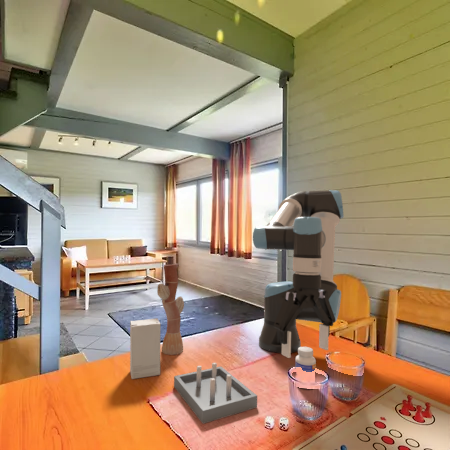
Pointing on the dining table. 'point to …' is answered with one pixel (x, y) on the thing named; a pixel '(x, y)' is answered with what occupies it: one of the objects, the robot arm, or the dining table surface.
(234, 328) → the dining table surface
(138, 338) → the skincare box
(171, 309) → the wooden tree sculpture
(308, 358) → the pill bottle
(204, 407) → the tray
